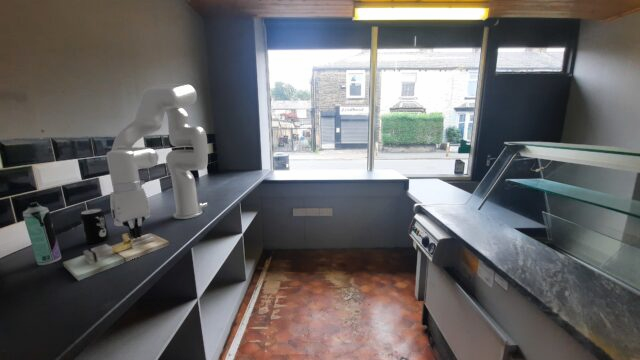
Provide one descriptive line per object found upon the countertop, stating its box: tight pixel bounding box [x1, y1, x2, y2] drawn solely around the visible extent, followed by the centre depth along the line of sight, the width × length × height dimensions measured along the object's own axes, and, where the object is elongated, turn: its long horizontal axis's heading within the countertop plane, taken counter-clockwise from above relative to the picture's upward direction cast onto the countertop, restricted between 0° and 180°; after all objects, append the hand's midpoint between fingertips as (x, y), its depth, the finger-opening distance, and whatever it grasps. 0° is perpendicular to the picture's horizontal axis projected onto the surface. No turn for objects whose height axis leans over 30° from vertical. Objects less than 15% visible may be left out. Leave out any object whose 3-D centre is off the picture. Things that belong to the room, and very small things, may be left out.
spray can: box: [22, 201, 62, 266], centre depth 80 cm, size 6×6×20 cm
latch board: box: [62, 232, 170, 282], centre depth 85 cm, size 25×14×5 cm, turn 147°
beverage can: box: [80, 208, 110, 245], centre depth 95 cm, size 7×7×12 cm
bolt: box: [95, 232, 134, 256], centre depth 84 cm, size 10×2×5 cm, turn 147°
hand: (136, 236), depth 89 cm, fingers closed
